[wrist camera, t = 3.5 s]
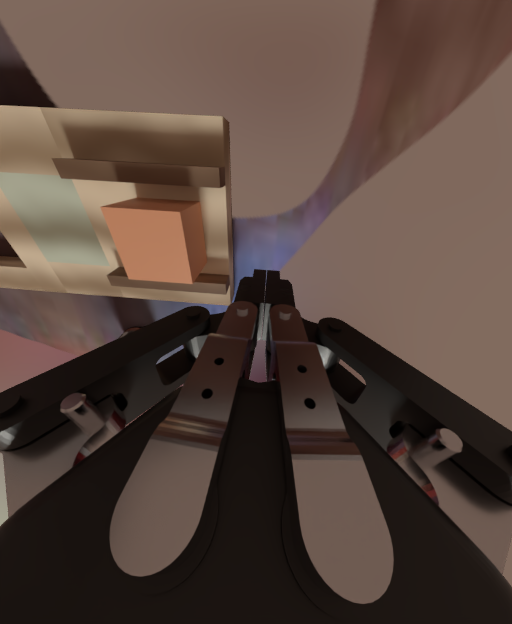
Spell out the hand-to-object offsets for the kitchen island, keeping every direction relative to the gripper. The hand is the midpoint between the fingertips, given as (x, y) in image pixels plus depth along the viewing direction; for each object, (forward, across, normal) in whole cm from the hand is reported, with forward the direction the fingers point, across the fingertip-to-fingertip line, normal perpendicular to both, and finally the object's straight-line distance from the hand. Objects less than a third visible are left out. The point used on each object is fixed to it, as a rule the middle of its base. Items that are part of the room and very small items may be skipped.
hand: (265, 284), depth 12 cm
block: (+8, +9, 0) cm, 12 cm away
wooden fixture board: (+11, +21, 0) cm, 24 cm away
